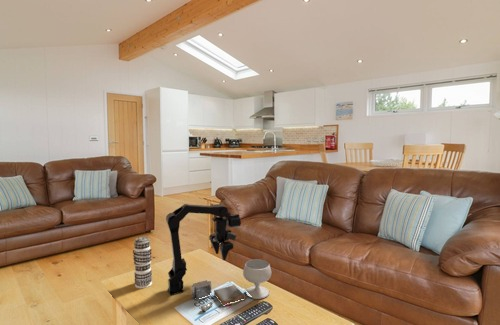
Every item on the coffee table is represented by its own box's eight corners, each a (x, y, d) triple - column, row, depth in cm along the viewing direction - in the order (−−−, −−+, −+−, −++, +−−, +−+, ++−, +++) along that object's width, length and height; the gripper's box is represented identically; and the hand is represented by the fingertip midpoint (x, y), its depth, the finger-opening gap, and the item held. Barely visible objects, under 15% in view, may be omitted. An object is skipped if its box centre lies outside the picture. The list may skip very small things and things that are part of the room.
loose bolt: (205, 312, 128) (205, 307, 128) (200, 310, 130) (200, 305, 129) (213, 306, 133) (213, 300, 133) (209, 304, 135) (209, 299, 134)
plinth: (223, 306, 133) (223, 301, 133) (214, 295, 142) (214, 290, 142) (244, 300, 138) (244, 294, 138) (234, 289, 148) (234, 284, 148)
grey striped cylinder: (132, 289, 148) (130, 242, 146) (135, 280, 157) (134, 235, 155) (151, 287, 150) (149, 240, 148) (153, 279, 159) (152, 234, 157)
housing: (193, 301, 137) (193, 289, 137) (190, 296, 142) (190, 284, 141) (213, 295, 142) (213, 283, 142) (209, 290, 147) (209, 279, 146)
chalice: (252, 283, 154) (252, 256, 153) (276, 290, 147) (276, 262, 146) (237, 295, 142) (237, 266, 141) (262, 304, 135) (262, 273, 134)
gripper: (242, 231, 150) (242, 260, 151) (227, 222, 166) (226, 248, 167) (223, 234, 144) (222, 264, 146) (208, 224, 160) (208, 252, 162)
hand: (220, 256), depth 155 cm, fingers open, 9 cm apart
